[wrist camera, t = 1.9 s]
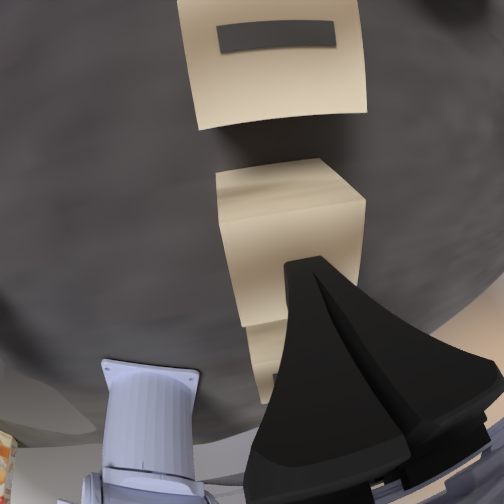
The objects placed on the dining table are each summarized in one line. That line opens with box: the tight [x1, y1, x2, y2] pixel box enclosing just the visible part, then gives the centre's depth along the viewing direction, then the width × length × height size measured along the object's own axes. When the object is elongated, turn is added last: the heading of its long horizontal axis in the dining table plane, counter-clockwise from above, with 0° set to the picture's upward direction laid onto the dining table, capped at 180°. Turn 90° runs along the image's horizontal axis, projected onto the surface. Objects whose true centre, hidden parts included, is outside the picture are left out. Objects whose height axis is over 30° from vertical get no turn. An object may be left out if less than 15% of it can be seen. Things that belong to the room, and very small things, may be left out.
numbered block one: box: [177, 0, 367, 130], centre depth 8 cm, size 5×5×5 cm
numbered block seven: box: [246, 319, 287, 404], centre depth 17 cm, size 5×5×5 cm
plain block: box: [216, 158, 366, 327], centre depth 13 cm, size 5×5×5 cm
